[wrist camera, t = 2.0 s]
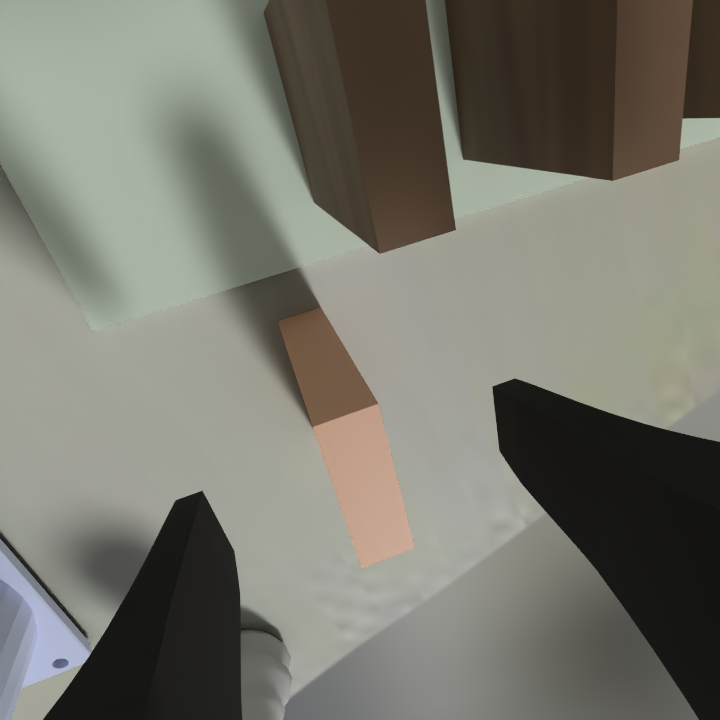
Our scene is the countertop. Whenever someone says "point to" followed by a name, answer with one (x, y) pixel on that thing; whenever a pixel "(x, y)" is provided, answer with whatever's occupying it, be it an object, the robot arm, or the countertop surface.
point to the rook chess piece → (264, 676)
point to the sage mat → (186, 149)
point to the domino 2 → (570, 83)
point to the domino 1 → (366, 114)
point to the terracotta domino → (349, 437)
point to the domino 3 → (703, 62)
